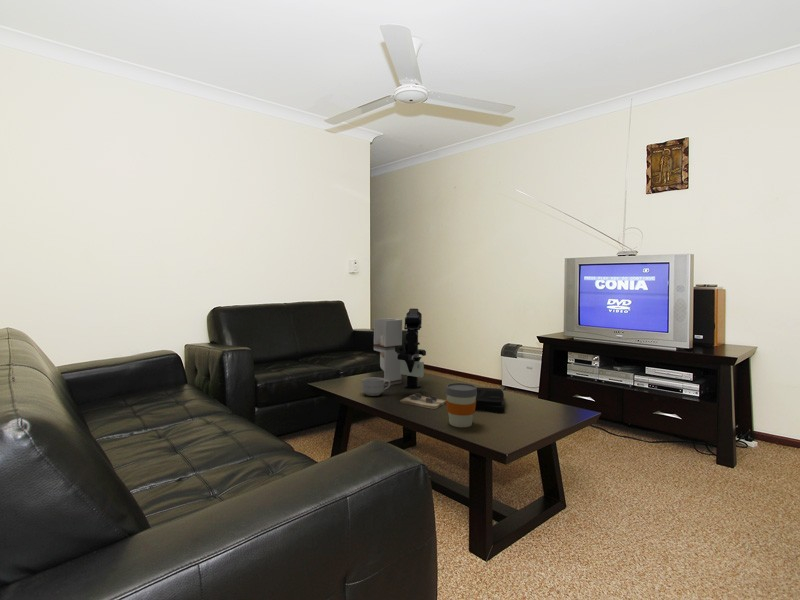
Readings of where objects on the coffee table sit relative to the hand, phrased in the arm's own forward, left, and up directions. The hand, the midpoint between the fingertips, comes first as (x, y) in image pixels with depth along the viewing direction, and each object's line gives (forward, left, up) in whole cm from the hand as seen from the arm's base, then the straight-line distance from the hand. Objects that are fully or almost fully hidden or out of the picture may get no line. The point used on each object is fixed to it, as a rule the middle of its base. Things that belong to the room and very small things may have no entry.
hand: (411, 371), depth 216 cm
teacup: (+9, -15, -12) cm, 21 cm away
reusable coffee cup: (+25, +37, -12) cm, 47 cm away
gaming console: (-6, +35, -12) cm, 37 cm away
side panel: (+8, +11, -12) cm, 18 cm away
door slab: (0, 0, -2) cm, 2 cm away
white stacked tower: (-15, -24, -12) cm, 30 cm away
